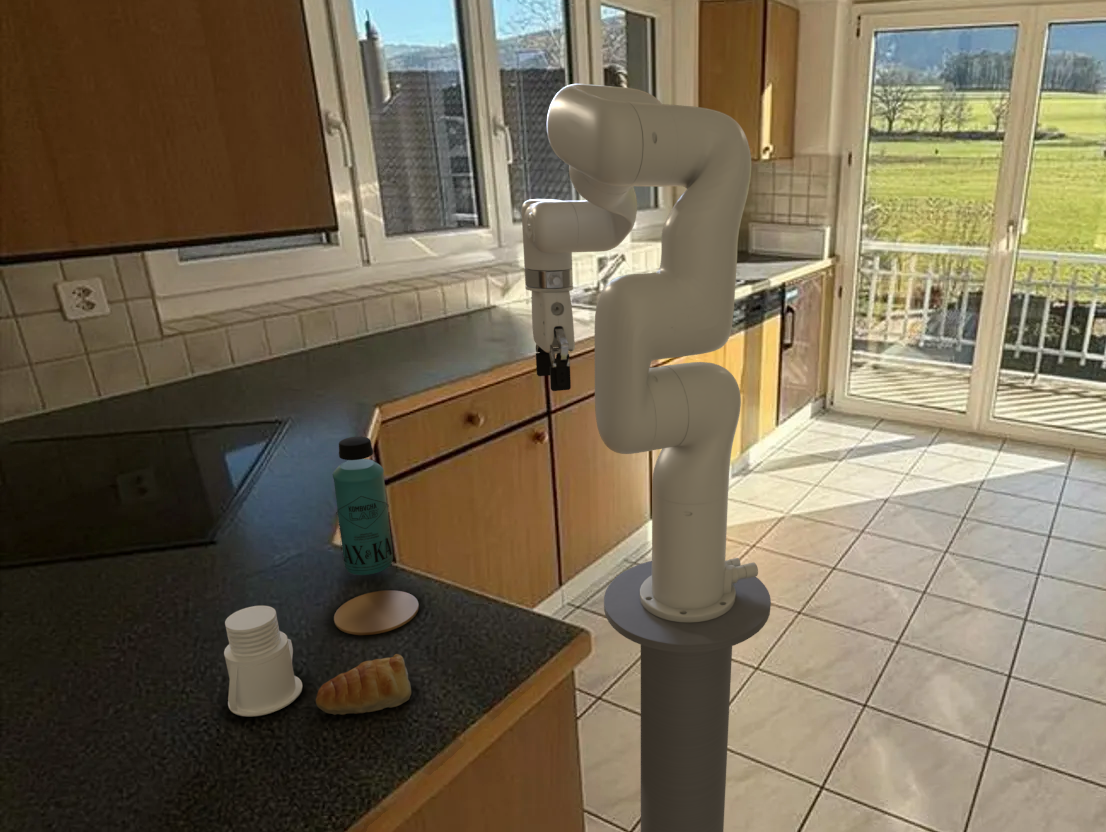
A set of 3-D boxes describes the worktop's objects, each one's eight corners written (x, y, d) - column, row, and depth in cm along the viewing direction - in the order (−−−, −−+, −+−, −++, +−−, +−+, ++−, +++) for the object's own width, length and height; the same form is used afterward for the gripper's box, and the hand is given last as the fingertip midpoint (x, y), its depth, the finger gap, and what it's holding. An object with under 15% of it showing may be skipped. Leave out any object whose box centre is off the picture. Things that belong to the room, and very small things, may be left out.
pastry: (320, 730, 80) (314, 699, 79) (314, 693, 86) (309, 663, 85) (416, 702, 85) (412, 673, 84) (405, 669, 90) (401, 640, 89)
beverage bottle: (338, 572, 110) (318, 438, 103) (386, 557, 114) (370, 428, 108) (355, 590, 106) (335, 452, 99) (404, 575, 110) (388, 441, 103)
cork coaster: (414, 586, 107) (413, 584, 107) (423, 624, 99) (422, 621, 99) (333, 602, 103) (332, 599, 103) (335, 642, 95) (335, 639, 94)
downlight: (269, 669, 89) (254, 592, 86) (320, 681, 88) (307, 603, 84) (208, 713, 82) (189, 632, 79) (263, 727, 80) (246, 645, 77)
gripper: (587, 286, 120) (589, 394, 126) (558, 271, 135) (562, 368, 141) (538, 288, 117) (543, 398, 123) (514, 273, 132) (519, 371, 138)
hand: (553, 382), depth 132 cm, fingers open, 9 cm apart
